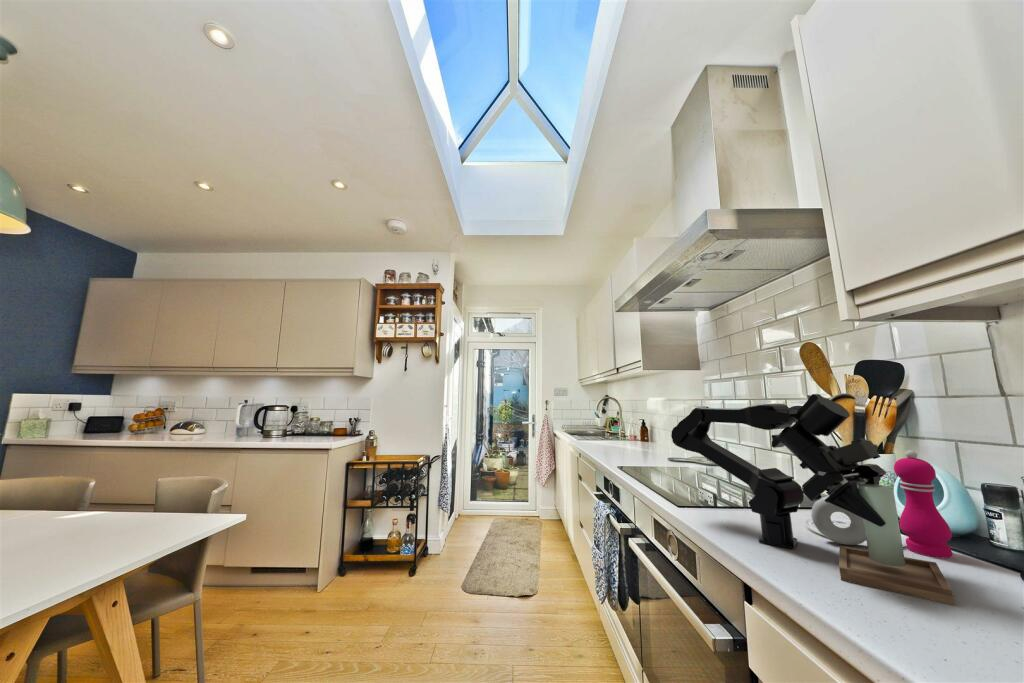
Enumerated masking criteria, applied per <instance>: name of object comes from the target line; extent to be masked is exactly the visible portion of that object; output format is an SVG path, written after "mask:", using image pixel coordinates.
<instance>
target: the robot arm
mask: <svg viewBox="0 0 1024 683" xmlns="http://www.w3.org/2000/svg"><path fill="white" fill-rule="evenodd" d="M850 416H851V414H850V412H849V411H848V410H847V409H846V408H845V407H844V406H843V405H841V404H840V403H837V402H835V401H833V400H831V399H830V398H827V397H824V396H822V395H821V394H819V393H812V394H811V395H810V396H809V397H808V398H807V401H806V402H804V404H803V405H802V406H801V407H800V408H799V409H797V410H796V409H791V408H790V407H789V406H788V405H787V404H784V403H760V404H754V405H750V406H746V407H741V408H740V407H737V408H736V407H734V408H733V407H730V408H729V407H708V406H706V407H705V406H703V407H702V406H699V407H695V408H693V409H692V410H691V412H690V413H689V414H688V415H687V416H685V417H684V418H683V419H681V420H680V421H679V422H678V423H677V424H676V425H675V426H674V427H673V428H672V430H671V435H670V437H671V440H672V443H673V444H674V446H676V447H678V448H680V449H683V450H686V451H689V452H692V453H696V454H699V455H701V456H703V457H704V458H705V459H708V461H710V462H711V463H713V464H715V465H716V466H718V467H720V468H721V469H723V471H726V472H727V473H729V474H730V475H732V476H733V477H735V478H737V479H738V480H740V481H741V482H743V483H745V484H746V485H747V486H748V487H749V488H750V490H751V492H752V493H753V495H754V496H753V497H752V498H751V499H749V501H748V505H749V508H750V509H751V512H752V513H755V514H759V517H760V518H759V519H760V527H761V529H760V530H761V534H760V536H759V538H758V542H759V543H762V544H767V545H772V546H776V547H777V546H778V547H781V548H782V547H783V548H787V549H793V550H794V549H796V547H797V543H798V538H796V537H794V532H793V525H792V524H793V523H792V517H791V514H792V513H797V512H798V511H799V510H798V509H799V506H800V505H801V504H802V503H803V502H804V499H805V498H804V497H805V496H806V498H808V499H809V500H810V501H811V502H816V501H818V500H820V499H821V498H823V497H822V494H823V493H824V492H825V494H826V495H827V496H829V497H827V498H826V499H825V500H824V501H825V502H827V503H831V504H833V505H836V506H838V507H840V508H842V509H845V510H847V511H849V512H851V513H853V514H855V515H857V516H859V517H861V518H863V519H865V520H867V521H869V522H871V523H874V524H876V525H878V526H880V527H882V526H884V525H885V524H886V523H885V521H884V520H883V519H882V518H881V517H880V515H879V514H878V513H877V512H876V511H875V510H874V509H873V508H872V507H871V506H870V505H869V503H868V502H867V501H866V500H865V499H864V498H863V497H862V496H861V495H860V494H859V487H858V485H859V484H875V485H880V481H882V480H881V478H883V476H885V475H886V474H887V471H886V470H884V469H883V468H882V466H879V465H878V464H875V463H865V464H859V463H861V462H864V461H868V460H871V459H874V460H875V459H879V458H881V455H880V454H879V453H878V449H879V445H877V444H874V442H872V440H867V439H866V438H862V437H860V438H857V440H851V442H850V443H849V444H847V445H844V446H841V447H838V446H836V445H833V444H832V445H827V444H826V443H824V442H823V441H822V439H820V438H819V437H820V436H823V437H829V436H830V435H831V434H833V433H834V431H836V430H837V429H838V428H839V427H840V426H841V425H842V424H843V423H844V422H845V421H846V420H848V419H849V417H850ZM712 423H724V424H725V423H727V424H729V423H730V424H742V425H747V426H749V427H751V428H756V429H761V430H764V431H770V430H772V431H773V430H782V431H781V432H779V433H778V434H771V447H772V448H774V449H777V448H784V447H786V449H788V450H789V451H790V452H791V453H792V454H793V455H794V456H795V457H796V459H798V460H800V462H801V463H800V464H799V467H800V468H801V469H803V470H806V469H808V470H810V471H811V472H812V473H813V475H812V476H811V477H809V479H808V480H806V481H805V482H804V483H803V484H801V485H800V483H798V482H797V481H796V480H794V479H795V477H794V476H790V475H788V474H786V473H784V472H783V471H782V470H780V469H779V468H777V467H771V468H765V469H761V468H759V467H757V466H755V465H753V464H752V463H750V462H749V461H747V460H745V459H744V458H742V457H740V456H738V455H736V454H735V453H733V452H732V451H730V450H728V449H727V448H725V447H723V446H721V445H720V444H718V443H716V442H714V441H713V440H712V439H711V438H710V436H709V434H708V433H709V431H710V427H711V424H712ZM804 495H805V496H804ZM898 521H899V522H900V517H899V516H898Z"/></svg>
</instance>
